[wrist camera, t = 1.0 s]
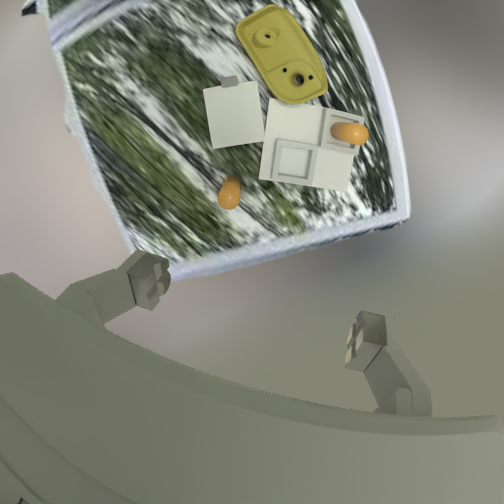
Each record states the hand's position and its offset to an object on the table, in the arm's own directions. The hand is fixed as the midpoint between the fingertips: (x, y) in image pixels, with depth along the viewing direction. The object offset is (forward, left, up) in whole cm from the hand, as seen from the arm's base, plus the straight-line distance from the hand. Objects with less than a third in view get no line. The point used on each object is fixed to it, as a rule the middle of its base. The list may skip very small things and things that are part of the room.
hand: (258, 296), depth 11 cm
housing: (-4, +11, -44) cm, 46 cm away
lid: (-8, -4, -44) cm, 45 cm away
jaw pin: (+6, -3, -44) cm, 45 cm away
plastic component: (-21, +4, -45) cm, 49 cm away
